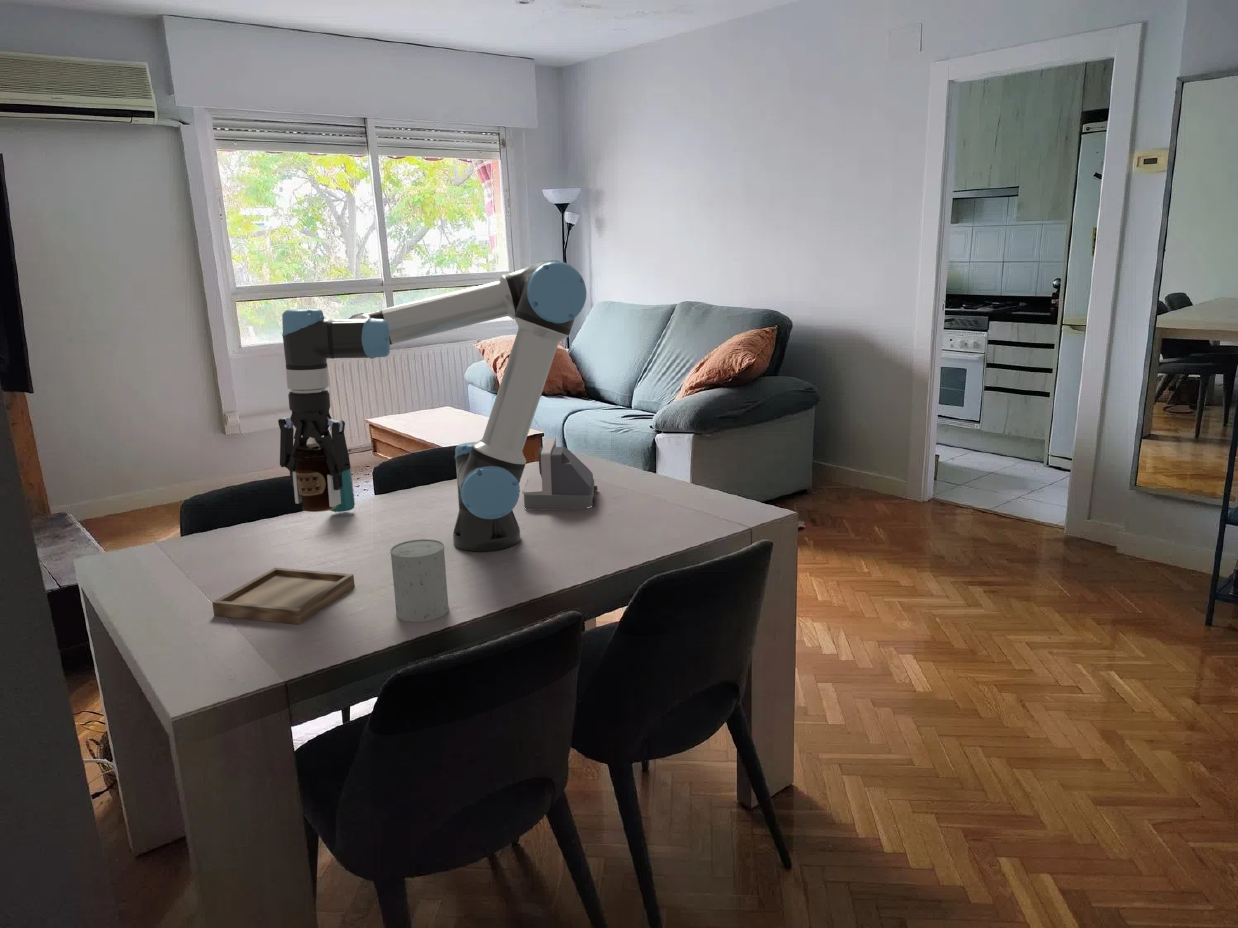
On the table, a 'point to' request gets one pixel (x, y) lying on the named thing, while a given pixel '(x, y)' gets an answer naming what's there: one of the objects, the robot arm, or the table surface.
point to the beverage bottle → (346, 492)
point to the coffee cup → (312, 477)
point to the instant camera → (559, 481)
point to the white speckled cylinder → (419, 580)
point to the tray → (284, 595)
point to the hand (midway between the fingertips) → (318, 503)
